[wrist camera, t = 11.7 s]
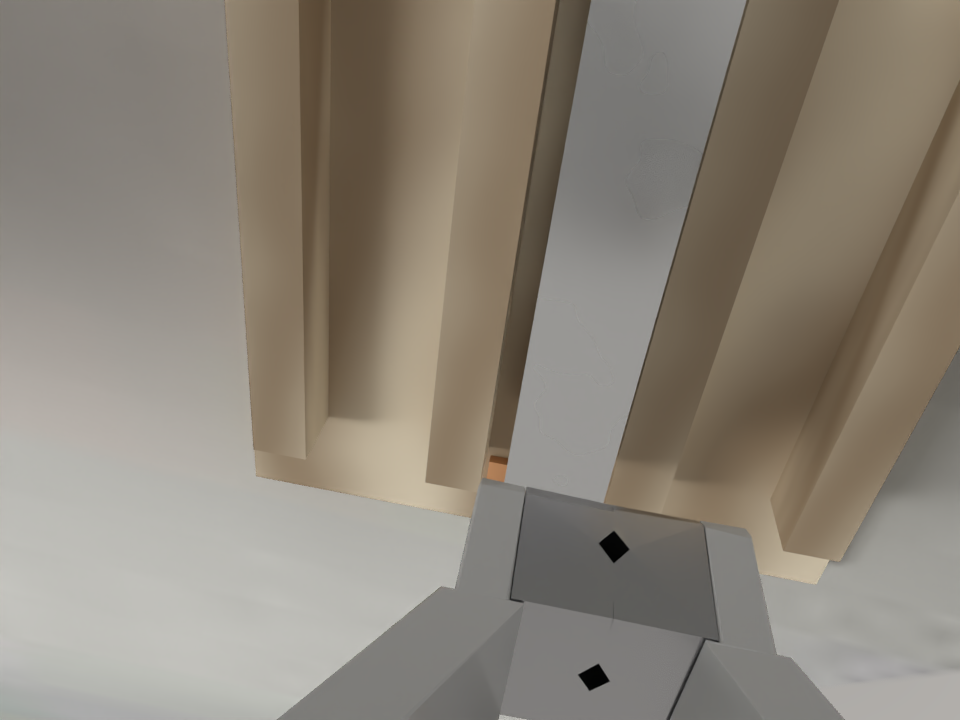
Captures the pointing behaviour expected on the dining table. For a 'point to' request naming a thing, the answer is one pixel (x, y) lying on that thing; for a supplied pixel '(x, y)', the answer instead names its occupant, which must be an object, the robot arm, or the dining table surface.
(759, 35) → the rack
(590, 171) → the blanking panel
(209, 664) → the dining table surface
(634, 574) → the robot arm
